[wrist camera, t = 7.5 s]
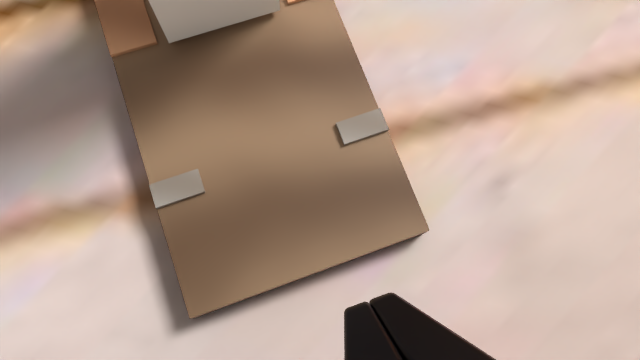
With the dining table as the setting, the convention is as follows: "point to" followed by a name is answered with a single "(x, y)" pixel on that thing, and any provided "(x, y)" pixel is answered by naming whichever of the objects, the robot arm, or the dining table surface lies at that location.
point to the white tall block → (206, 15)
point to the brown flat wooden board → (259, 148)
